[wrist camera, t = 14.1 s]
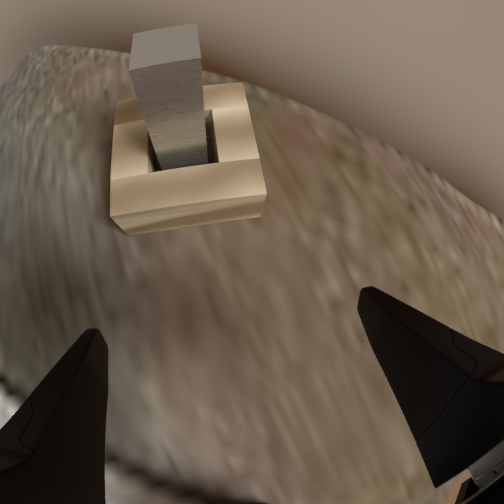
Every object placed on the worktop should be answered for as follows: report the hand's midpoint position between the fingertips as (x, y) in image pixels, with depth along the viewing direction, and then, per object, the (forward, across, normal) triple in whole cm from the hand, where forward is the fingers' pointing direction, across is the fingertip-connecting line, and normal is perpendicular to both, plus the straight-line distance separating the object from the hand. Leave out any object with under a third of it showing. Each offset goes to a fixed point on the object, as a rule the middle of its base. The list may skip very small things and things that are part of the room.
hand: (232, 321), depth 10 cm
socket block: (+19, +2, 0) cm, 19 cm away
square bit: (+19, +2, -1) cm, 19 cm away
